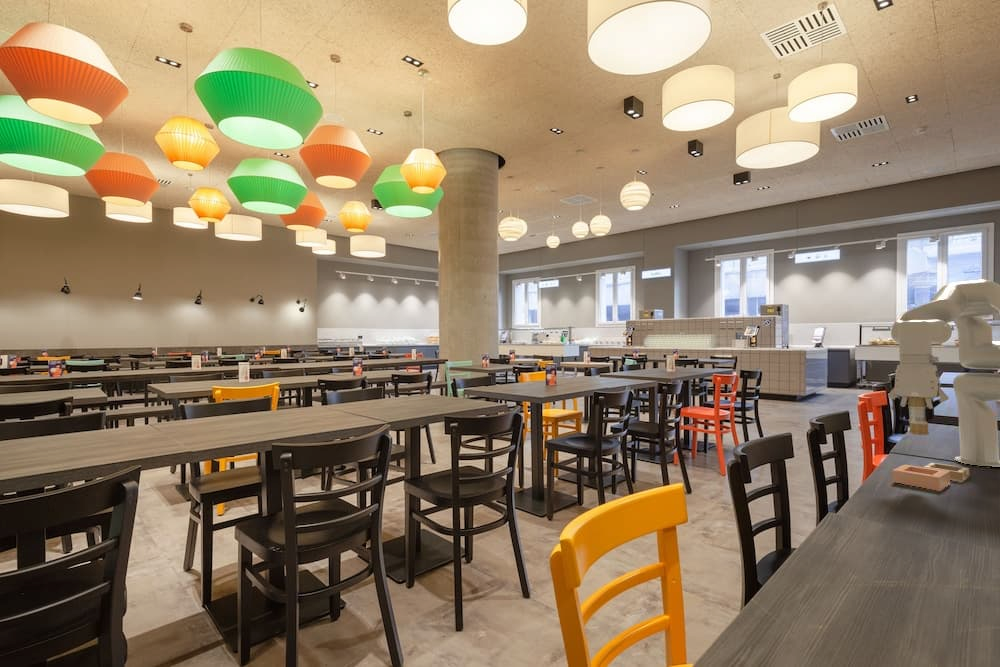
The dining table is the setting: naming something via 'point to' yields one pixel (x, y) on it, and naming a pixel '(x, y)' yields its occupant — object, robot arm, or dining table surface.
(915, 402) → the sprinkles bottle
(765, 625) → the dining table surface
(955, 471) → the wooden collar
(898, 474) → the terracotta socket
